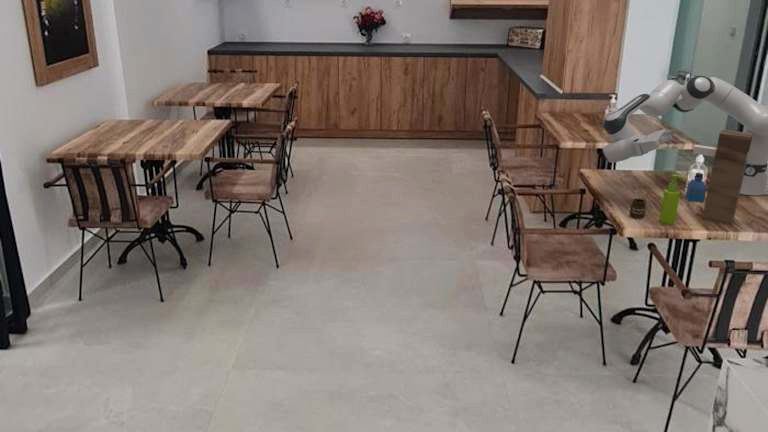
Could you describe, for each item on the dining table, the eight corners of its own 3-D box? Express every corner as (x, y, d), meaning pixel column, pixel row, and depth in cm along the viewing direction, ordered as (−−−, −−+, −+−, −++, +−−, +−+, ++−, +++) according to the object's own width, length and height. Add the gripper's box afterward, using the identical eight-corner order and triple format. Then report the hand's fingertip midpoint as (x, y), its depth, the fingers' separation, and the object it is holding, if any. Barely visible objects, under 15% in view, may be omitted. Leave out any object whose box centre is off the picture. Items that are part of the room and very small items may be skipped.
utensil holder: (628, 213, 276) (632, 186, 271) (643, 214, 275) (648, 187, 270) (630, 218, 270) (634, 190, 266) (646, 219, 269) (651, 192, 265)
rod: (694, 151, 270) (695, 144, 269) (746, 159, 260) (748, 152, 259) (692, 153, 268) (694, 146, 267) (745, 161, 258) (747, 154, 257)
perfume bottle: (703, 202, 290) (708, 176, 286) (688, 201, 291) (693, 175, 287) (700, 197, 296) (705, 172, 291) (685, 196, 297) (690, 171, 292)
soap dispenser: (674, 226, 263) (683, 178, 256) (656, 221, 267) (665, 175, 260) (679, 221, 267) (688, 175, 260) (661, 217, 271) (670, 171, 264)
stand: (705, 212, 278) (722, 129, 264) (734, 218, 272) (753, 133, 259) (702, 219, 271) (719, 133, 257) (731, 224, 265) (750, 137, 252)
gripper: (648, 145, 287) (680, 135, 279) (638, 157, 272) (672, 147, 263) (643, 131, 287) (675, 121, 278) (632, 143, 271) (666, 132, 262)
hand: (674, 134), depth 270 cm, fingers open, 8 cm apart
